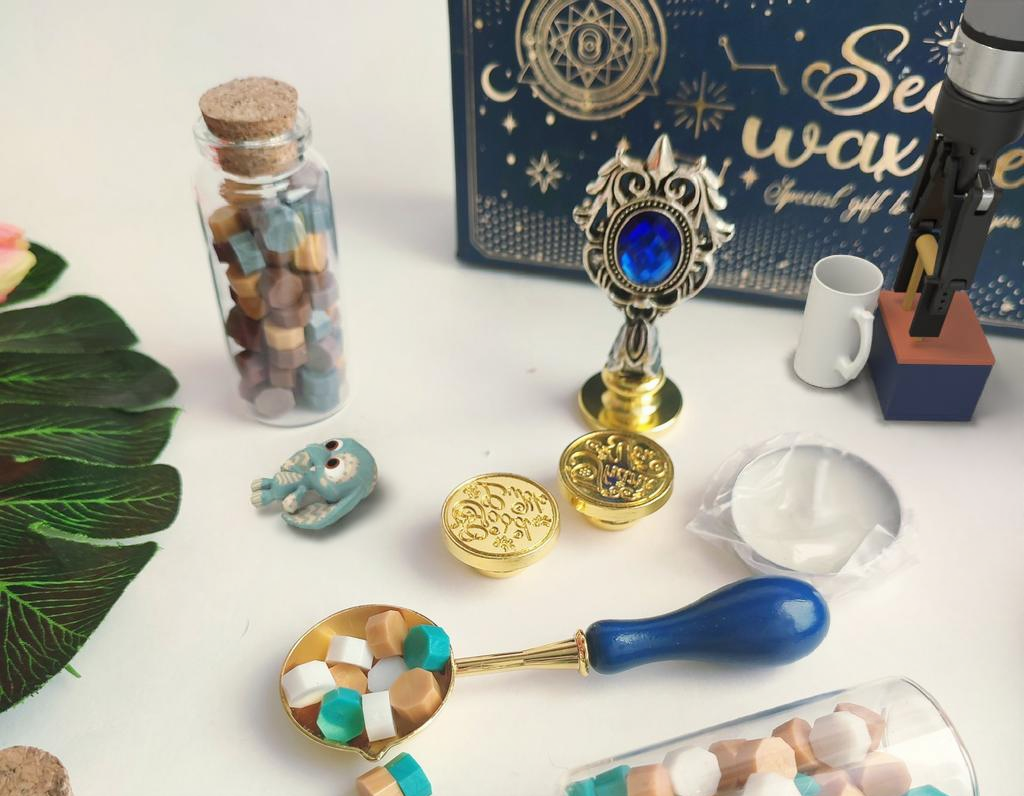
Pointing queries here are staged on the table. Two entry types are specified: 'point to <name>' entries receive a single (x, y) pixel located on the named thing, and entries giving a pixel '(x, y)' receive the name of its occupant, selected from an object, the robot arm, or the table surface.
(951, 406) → the blue open box
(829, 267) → the mug
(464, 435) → the table surface
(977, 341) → the lid
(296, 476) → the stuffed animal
